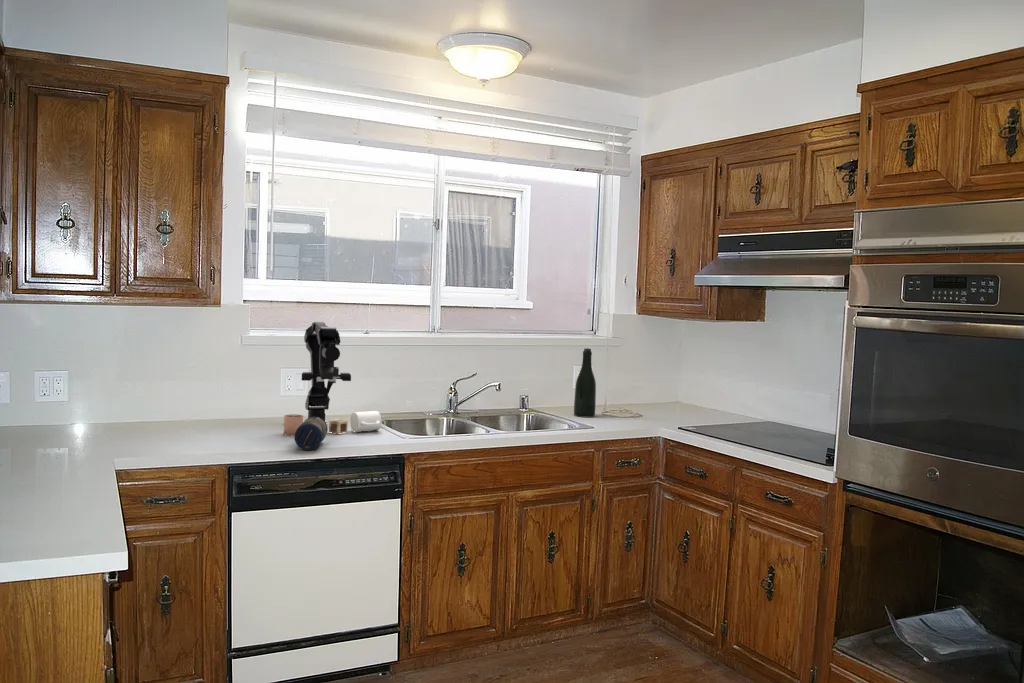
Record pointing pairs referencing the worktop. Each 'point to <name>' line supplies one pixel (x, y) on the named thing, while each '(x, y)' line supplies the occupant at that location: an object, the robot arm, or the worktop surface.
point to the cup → (292, 423)
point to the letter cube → (338, 426)
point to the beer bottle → (585, 388)
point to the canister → (311, 433)
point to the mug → (365, 421)
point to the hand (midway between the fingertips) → (325, 398)
